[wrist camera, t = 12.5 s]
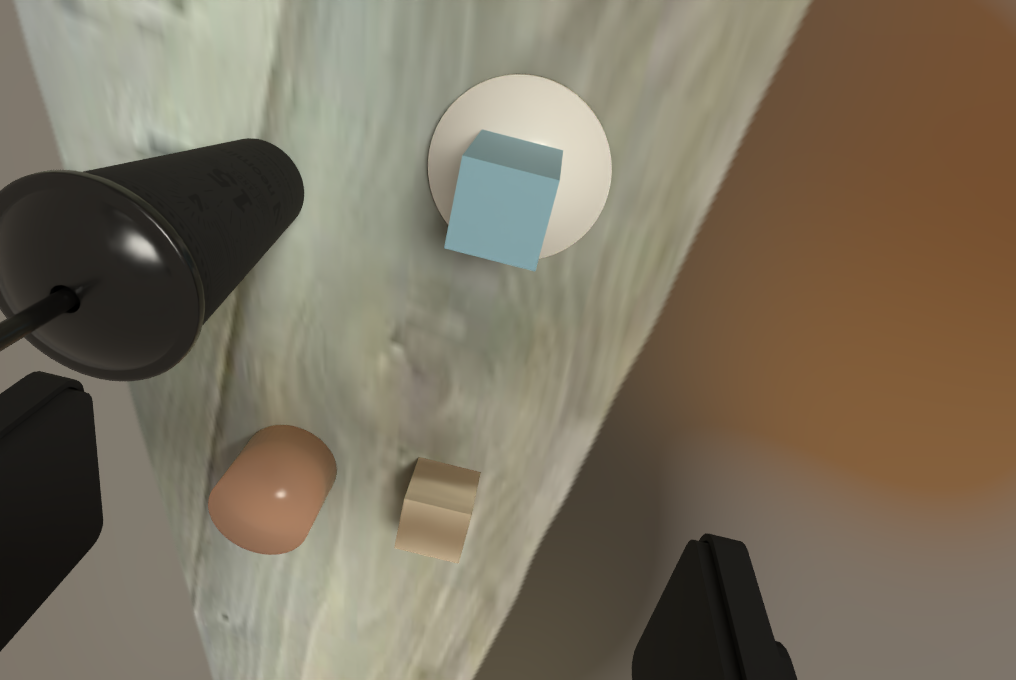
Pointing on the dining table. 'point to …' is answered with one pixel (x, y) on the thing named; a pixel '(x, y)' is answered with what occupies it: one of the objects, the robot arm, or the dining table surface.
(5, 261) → the drinking cup
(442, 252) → the dining table surface
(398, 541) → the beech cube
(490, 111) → the cream shiny round part
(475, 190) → the teal block
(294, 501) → the peach cylinder
